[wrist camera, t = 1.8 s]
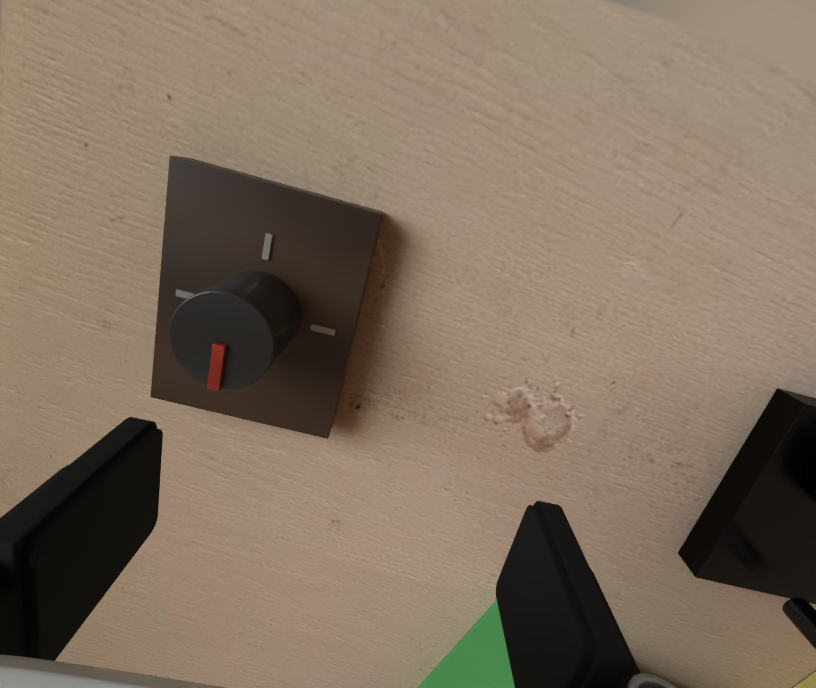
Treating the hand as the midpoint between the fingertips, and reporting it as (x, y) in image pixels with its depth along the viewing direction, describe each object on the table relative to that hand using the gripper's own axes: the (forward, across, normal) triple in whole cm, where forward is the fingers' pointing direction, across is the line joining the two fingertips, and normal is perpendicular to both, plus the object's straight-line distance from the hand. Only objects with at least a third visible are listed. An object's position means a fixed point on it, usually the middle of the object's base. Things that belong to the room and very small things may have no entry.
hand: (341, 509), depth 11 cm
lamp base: (+17, -31, +6) cm, 36 cm away
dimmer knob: (+15, +7, +1) cm, 17 cm away
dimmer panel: (+17, +7, +1) cm, 18 cm away
